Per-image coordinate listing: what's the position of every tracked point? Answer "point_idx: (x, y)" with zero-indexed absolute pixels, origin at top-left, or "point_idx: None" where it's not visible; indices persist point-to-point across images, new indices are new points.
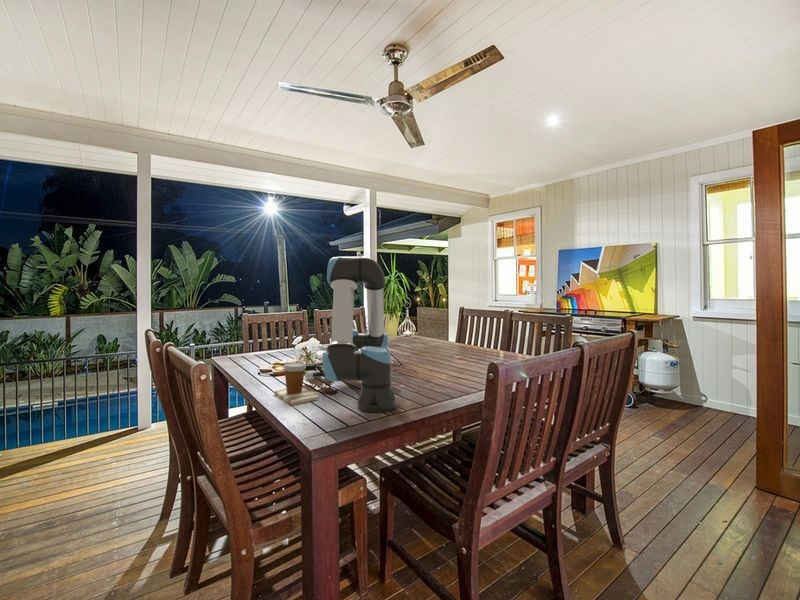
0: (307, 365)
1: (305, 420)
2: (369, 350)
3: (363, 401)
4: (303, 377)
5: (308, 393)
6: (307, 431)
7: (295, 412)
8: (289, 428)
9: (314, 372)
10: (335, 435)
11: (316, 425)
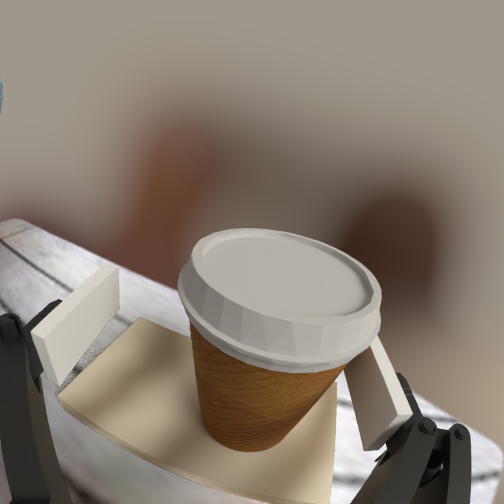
0: (388, 483)
1: (45, 264)
2: None
3: None
4: (203, 381)
5: (140, 421)
6: (31, 238)
7: None
8: (67, 242)
9: (64, 308)
10: None
11: (18, 252)
